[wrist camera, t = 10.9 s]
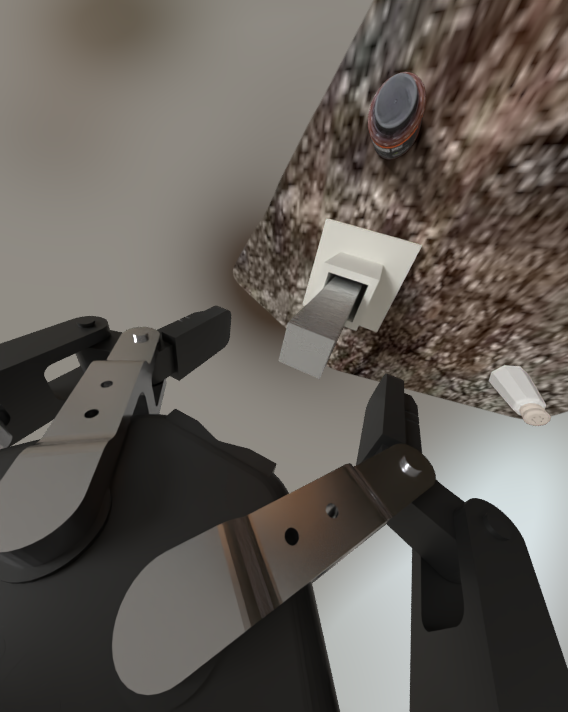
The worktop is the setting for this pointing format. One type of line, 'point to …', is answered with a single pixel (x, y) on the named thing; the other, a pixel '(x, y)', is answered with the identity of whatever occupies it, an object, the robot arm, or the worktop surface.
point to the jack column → (319, 326)
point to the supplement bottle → (397, 114)
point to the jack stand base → (362, 269)
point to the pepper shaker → (520, 394)
